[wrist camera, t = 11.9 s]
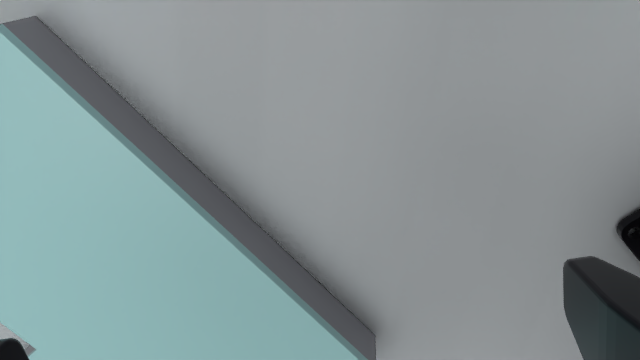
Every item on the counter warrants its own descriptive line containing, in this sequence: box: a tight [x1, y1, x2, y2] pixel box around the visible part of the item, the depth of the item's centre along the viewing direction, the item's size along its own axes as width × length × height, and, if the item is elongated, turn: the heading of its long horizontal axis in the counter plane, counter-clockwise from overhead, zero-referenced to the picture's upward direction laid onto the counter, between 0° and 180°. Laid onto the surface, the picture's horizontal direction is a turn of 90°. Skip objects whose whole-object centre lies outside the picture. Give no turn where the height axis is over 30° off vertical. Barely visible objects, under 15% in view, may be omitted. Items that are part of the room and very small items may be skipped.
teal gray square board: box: [0, 16, 376, 360], centre depth 24 cm, size 19×19×2 cm
